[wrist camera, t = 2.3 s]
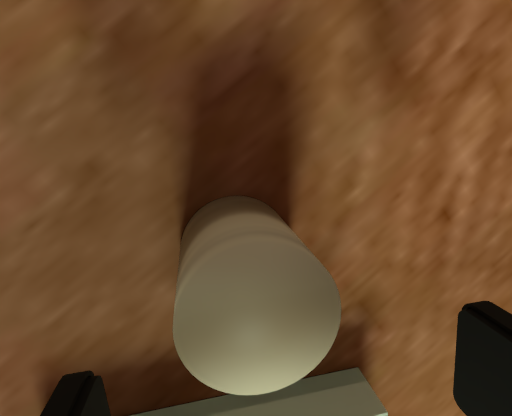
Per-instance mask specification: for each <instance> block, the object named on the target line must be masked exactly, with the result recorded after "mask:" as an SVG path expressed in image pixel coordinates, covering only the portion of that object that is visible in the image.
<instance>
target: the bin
mask: <svg viewBox="0 0 512 416" xmlns="http://www.w3.org/2000/svg"><path fill="white" fill-rule="evenodd" d="M130 416H388V412H387V410H386V409H385V407H384V406H383V404H382V403H381V401H380V400H379V398H378V397H377V395H376V394H375V392H374V391H373V389H372V388H371V386H370V385H369V383H368V382H367V380H366V379H365V377H364V376H363V374H362V373H361V371H360V370H359V368H358V367H357V368H352V369H347V370H342V371H338V372H333V373H328V374H323V375H319V376H314V377H309V378H305V379H300V380H298V381H297V382H295V383H293V384H291V385H289V386H287V387H285V388H282V389H279V390H277V391H273V392H269V393H265V394H259V395H235V394H229V395H224V396H220V397H215V398H210V399H205V400H201V401H196V402H191V403H186V404H182V405H177V406H172V407H168V408H163V409H158V410H153V411H149V412H144V413H139V414H135V415H130Z"/></svg>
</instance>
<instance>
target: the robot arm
mask: <svg viewBox="0 0 512 416" xmlns="http://www.w3.org/2000/svg"><path fill="white" fill-rule="evenodd" d="M453 395H454V399H455V401H456V403H457V405H458V406H459V408H460V409H461V410H462V411H463V412H464V413H465V414H466V415H467V416H512V314H510V313H508V312H507V311H505V310H503V309H502V308H500V307H498V306H497V305H495V304H493V303H492V302H489V301H480V302H475V303H469V304H466V305H464V306H463V308H462V311H460V312H459V314H458V325H457V340H456V356H455V372H454V387H453ZM40 416H111V415H110V410H109V406H108V402H107V398H106V393H105V389H104V385H103V381H102V378H101V376H94V374H93V372H92V371H84V372H78V373H73V374H67V375H64V376H63V377H62V378H61V380H60V381H59V383H58V385H57V387H56V388H55V390H54V392H53V394H52V396H51V397H50V399H49V401H48V403H47V404H46V406H45V408H44V410H43V412H42V413H41V415H40Z"/></svg>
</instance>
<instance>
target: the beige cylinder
mask: <svg viewBox="0 0 512 416" xmlns="http://www.w3.org/2000/svg"><path fill="white" fill-rule="evenodd" d="M340 320H341V301H340V296H339V292H338V289H337V287H336V284H335V282H334V280H333V278H332V277H331V275H330V273H329V272H328V271H327V270H326V269H325V267H324V266H323V265H322V264H321V263H320V262H319V260H318V259H317V258H316V257H315V256H314V255H313V254H312V252H311V251H310V250H309V249H308V248H307V247H306V246H305V245H304V243H303V242H302V241H301V240H300V239H299V238H298V237H297V235H296V234H295V233H294V232H293V231H292V230H291V229H290V227H289V226H288V225H287V224H286V223H285V222H284V221H283V220H282V218H281V217H280V216H279V215H278V214H277V213H276V212H275V211H274V210H273V209H272V208H271V207H270V206H268V205H267V204H266V203H264V202H262V201H260V200H258V199H255V198H252V197H247V196H228V197H223V198H220V199H216V200H214V201H212V202H210V203H208V204H207V205H205V206H203V207H202V208H201V209H200V210H198V211H197V212H196V213H195V214H194V216H193V217H192V218H191V219H190V221H189V222H188V224H187V226H186V228H185V230H184V232H183V235H182V240H181V246H180V256H179V267H178V277H177V287H176V297H175V307H174V317H173V338H174V343H175V347H176V350H177V353H178V355H179V357H180V359H181V361H182V362H183V364H184V366H185V367H186V368H187V369H188V371H189V372H190V373H191V374H192V375H193V376H194V377H196V378H197V379H198V380H199V381H201V382H202V383H204V384H205V385H207V386H209V387H211V388H213V389H216V390H218V391H222V392H225V393H230V394H235V395H259V394H265V393H269V392H273V391H277V390H279V389H282V388H285V387H287V386H289V385H291V384H293V383H295V382H297V381H298V380H300V379H301V378H303V377H304V376H306V375H307V374H308V373H309V372H311V371H312V370H313V369H314V368H315V367H316V366H317V365H318V364H319V363H320V362H321V361H322V360H323V358H324V357H325V356H326V354H327V353H328V351H329V350H330V348H331V346H332V344H333V342H334V340H335V338H336V335H337V332H338V329H339V325H340Z"/></svg>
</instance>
